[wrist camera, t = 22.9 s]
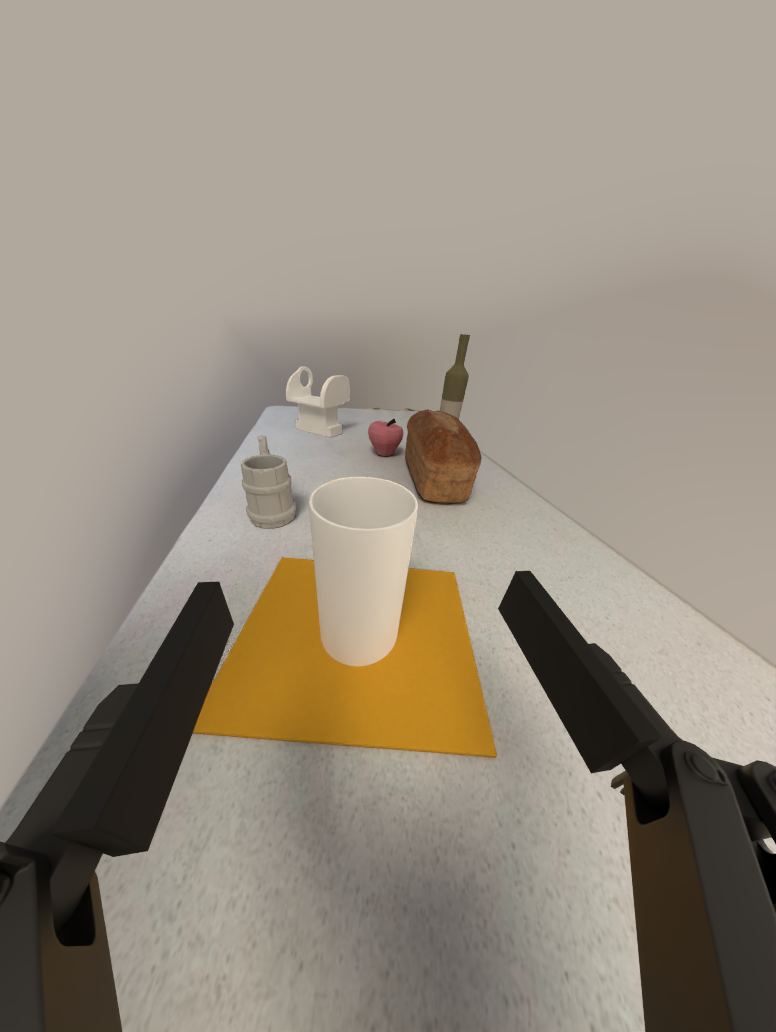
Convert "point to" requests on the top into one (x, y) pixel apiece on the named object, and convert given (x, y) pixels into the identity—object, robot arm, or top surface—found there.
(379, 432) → the apple
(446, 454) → the bread
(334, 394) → the white holder stand
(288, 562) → the cloth
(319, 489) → the cup
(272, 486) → the mug
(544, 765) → the top surface
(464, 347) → the bottle
